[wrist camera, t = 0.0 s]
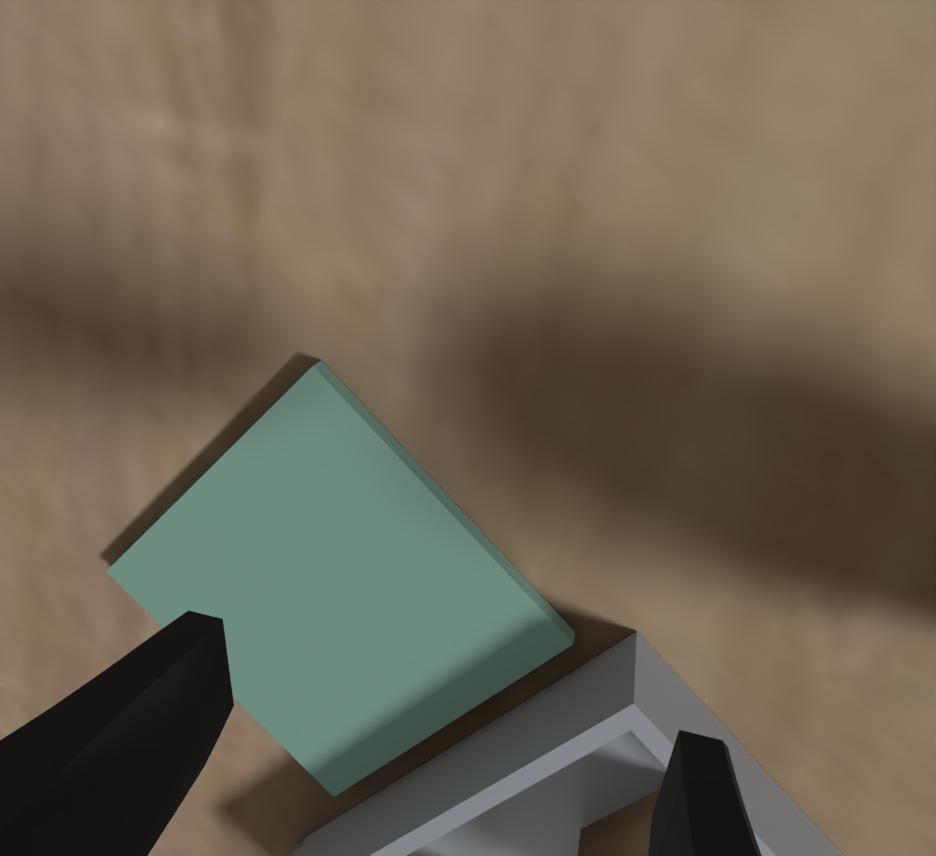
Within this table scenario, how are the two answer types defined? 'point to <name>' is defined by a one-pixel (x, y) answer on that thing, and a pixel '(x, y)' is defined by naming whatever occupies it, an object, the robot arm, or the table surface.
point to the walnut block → (620, 831)
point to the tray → (560, 773)
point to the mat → (341, 586)
